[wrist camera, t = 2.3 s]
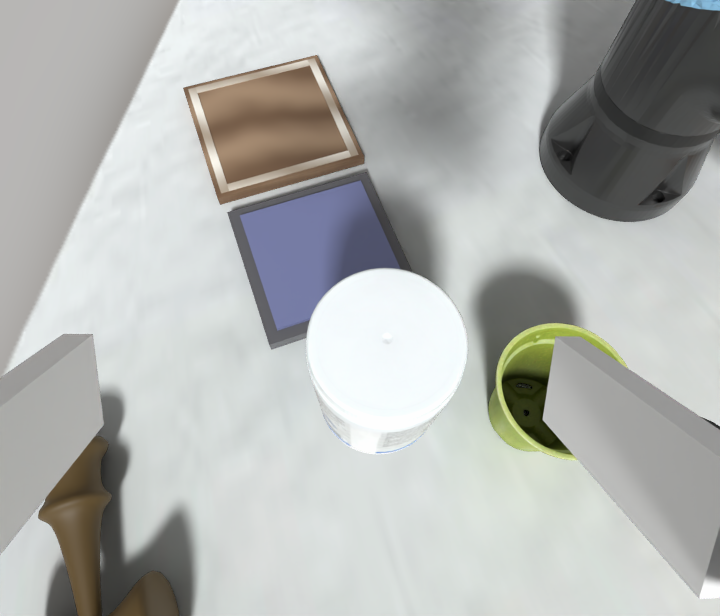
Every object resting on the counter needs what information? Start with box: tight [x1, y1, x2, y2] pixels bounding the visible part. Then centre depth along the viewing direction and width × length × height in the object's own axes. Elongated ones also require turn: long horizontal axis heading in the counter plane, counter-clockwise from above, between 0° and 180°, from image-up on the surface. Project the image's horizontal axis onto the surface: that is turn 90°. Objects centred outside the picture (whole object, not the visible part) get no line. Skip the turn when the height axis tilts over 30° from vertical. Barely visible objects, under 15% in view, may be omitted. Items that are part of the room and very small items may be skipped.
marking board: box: [183, 55, 364, 205], centre depth 52 cm, size 15×15×1 cm
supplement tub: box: [306, 268, 468, 454], centre depth 35 cm, size 10×10×15 cm
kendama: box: [38, 436, 179, 616], centre depth 34 cm, size 6×10×20 cm
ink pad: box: [227, 172, 412, 349], centre depth 46 cm, size 14×14×2 cm
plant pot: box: [488, 323, 628, 460], centre depth 37 cm, size 9×9×9 cm
